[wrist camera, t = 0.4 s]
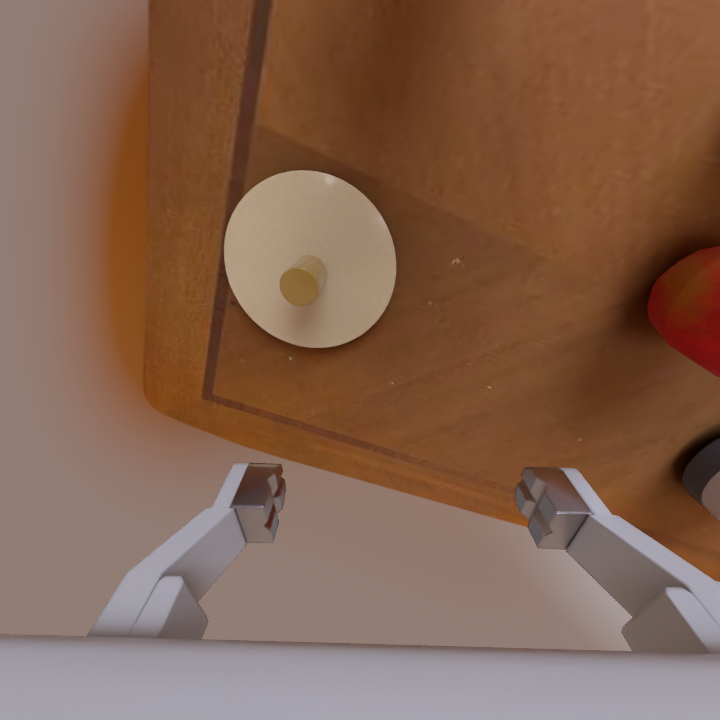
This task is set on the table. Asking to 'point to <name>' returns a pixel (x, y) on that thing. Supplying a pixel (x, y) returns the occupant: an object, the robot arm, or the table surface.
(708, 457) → the planter
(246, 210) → the tin lid
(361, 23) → the table surface
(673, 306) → the apple
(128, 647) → the robot arm
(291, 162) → the table surface
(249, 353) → the table surface
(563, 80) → the table surface
